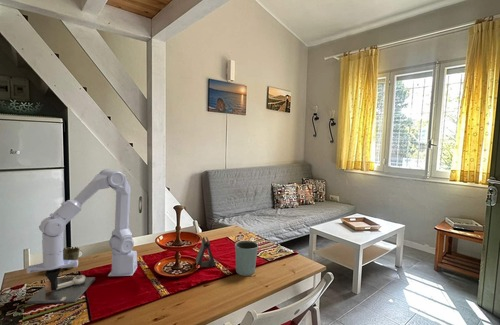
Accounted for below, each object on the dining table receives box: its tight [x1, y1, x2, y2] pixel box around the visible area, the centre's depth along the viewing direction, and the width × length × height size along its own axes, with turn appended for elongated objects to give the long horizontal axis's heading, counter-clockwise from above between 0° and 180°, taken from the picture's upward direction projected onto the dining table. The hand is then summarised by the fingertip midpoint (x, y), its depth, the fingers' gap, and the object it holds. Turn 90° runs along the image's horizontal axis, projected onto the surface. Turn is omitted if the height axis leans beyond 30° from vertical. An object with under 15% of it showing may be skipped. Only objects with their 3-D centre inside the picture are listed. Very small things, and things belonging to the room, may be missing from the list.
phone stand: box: [195, 236, 217, 269], centre depth 122 cm, size 9×6×12 cm, turn 107°
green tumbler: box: [234, 240, 259, 276], centre depth 117 cm, size 10×10×12 cm
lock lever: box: [44, 274, 86, 292], centre depth 98 cm, size 4×12×4 cm, turn 135°
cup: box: [63, 246, 80, 270], centre depth 114 cm, size 8×7×8 cm
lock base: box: [26, 276, 96, 305], centre depth 97 cm, size 16×16×1 cm
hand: (54, 288), depth 93 cm, fingers closed, pressing on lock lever
